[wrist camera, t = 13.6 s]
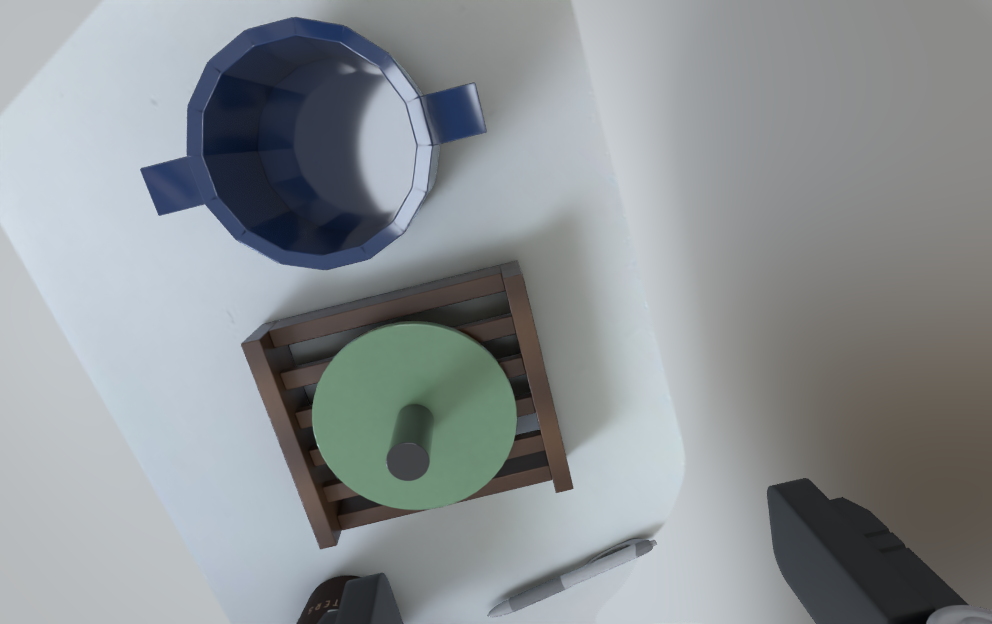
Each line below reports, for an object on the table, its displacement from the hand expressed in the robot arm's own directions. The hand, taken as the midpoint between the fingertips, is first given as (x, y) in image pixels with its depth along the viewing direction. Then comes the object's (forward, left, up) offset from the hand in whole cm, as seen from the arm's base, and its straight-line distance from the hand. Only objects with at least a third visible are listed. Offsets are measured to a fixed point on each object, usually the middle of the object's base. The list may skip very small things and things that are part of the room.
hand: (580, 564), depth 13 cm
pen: (+24, -1, -29) cm, 38 cm away
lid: (+7, -8, -25) cm, 27 cm away
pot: (-10, -8, -29) cm, 31 cm away
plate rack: (+7, -8, -29) cm, 31 cm away
